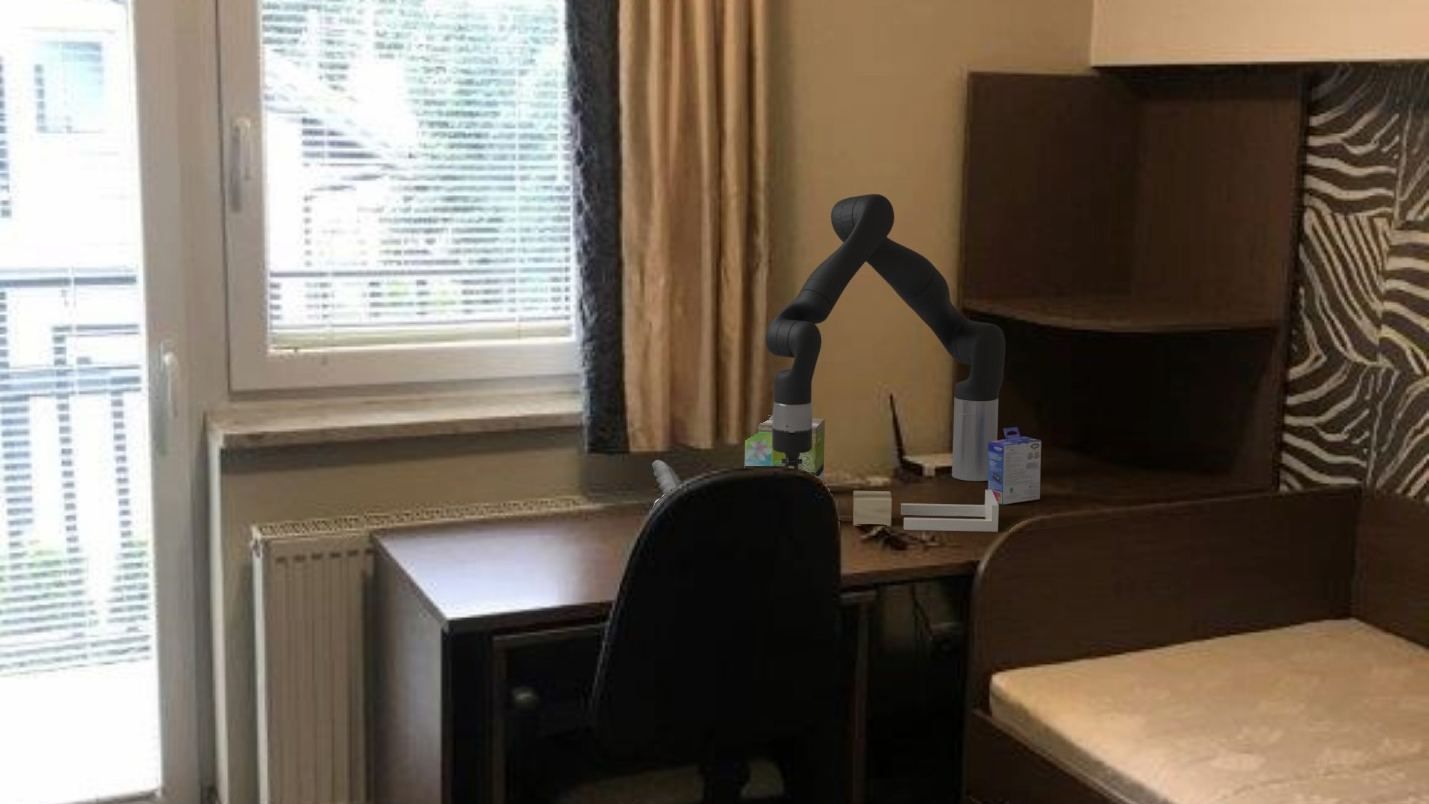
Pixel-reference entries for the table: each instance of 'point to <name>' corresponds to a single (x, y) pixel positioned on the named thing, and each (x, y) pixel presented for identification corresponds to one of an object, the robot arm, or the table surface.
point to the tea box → (764, 455)
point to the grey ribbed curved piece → (665, 477)
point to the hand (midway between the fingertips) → (791, 511)
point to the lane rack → (953, 510)
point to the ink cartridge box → (1014, 468)
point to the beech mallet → (870, 508)
